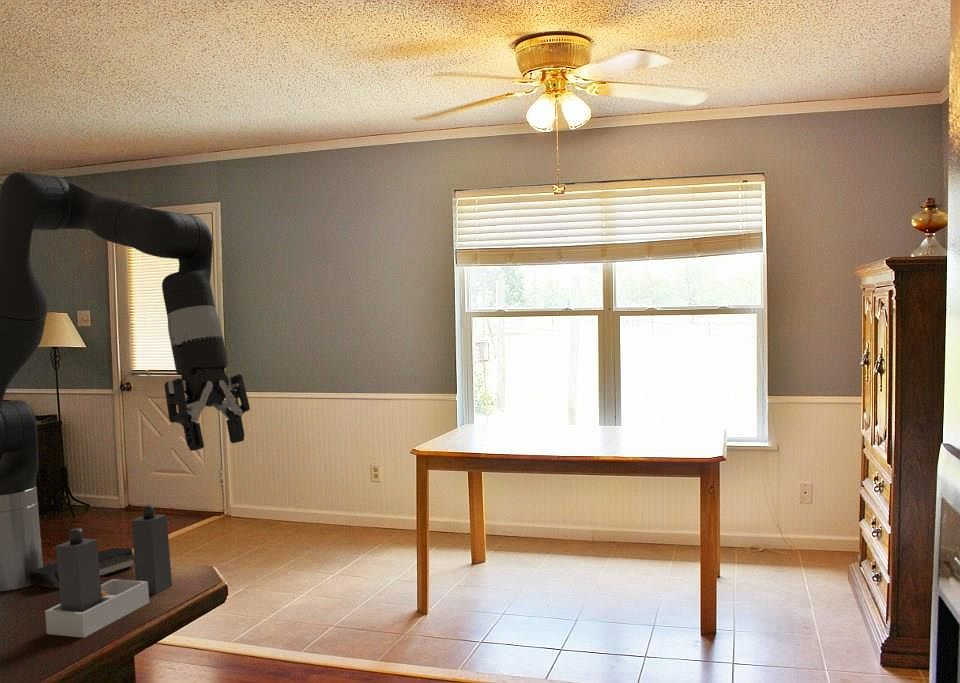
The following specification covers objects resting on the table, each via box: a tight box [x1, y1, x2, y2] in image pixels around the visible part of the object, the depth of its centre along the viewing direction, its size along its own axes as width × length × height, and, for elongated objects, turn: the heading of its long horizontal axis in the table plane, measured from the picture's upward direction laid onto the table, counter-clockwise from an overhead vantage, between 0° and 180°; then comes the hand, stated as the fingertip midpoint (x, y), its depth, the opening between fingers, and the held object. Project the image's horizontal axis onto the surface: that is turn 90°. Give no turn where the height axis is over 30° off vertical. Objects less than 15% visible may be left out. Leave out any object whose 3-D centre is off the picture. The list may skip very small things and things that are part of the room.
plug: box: [131, 504, 173, 595], centre depth 141 cm, size 4×4×15 cm
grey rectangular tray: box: [44, 578, 150, 639], centre depth 129 cm, size 14×7×5 cm, turn 162°
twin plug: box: [55, 527, 102, 612], centre depth 125 cm, size 4×4×15 cm
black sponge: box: [32, 547, 135, 589], centre depth 152 cm, size 16×8×4 cm, turn 144°
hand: (217, 445), depth 122 cm, fingers open, 8 cm apart
